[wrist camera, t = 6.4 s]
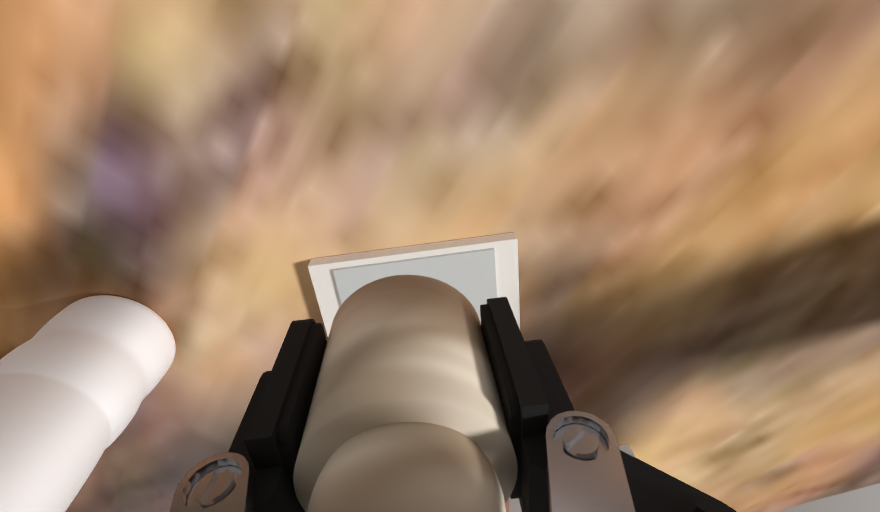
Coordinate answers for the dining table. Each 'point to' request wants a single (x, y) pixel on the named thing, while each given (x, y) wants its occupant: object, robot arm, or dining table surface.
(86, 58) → the dining table surface
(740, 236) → the dining table surface
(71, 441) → the water bottle
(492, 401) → the pawn
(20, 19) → the dining table surface
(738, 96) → the dining table surface
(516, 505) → the board
